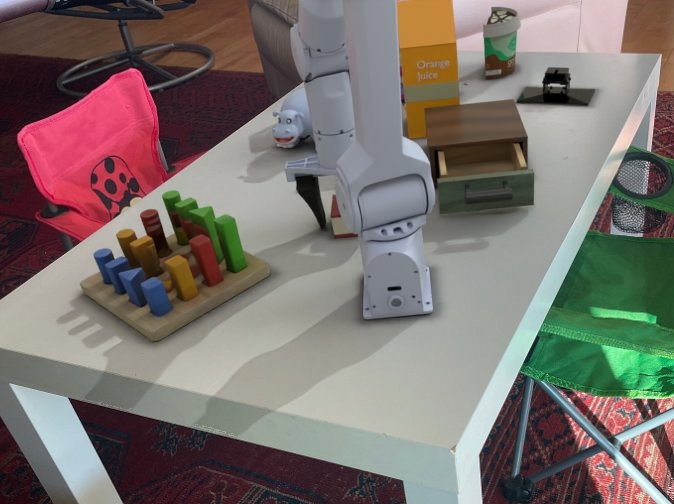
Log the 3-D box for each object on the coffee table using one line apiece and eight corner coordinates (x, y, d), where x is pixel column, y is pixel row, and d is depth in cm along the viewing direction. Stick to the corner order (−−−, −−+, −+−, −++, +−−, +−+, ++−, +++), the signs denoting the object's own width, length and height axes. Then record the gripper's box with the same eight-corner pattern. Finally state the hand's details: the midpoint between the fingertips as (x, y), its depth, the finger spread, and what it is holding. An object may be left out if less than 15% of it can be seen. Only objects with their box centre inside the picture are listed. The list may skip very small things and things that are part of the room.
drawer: (538, 219, 98) (539, 186, 95) (441, 229, 98) (439, 196, 95) (519, 162, 111) (519, 131, 108) (434, 171, 111) (432, 141, 108)
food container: (517, 81, 139) (517, 24, 132) (484, 82, 140) (482, 25, 133) (524, 59, 148) (524, 4, 141) (493, 60, 149) (491, 5, 142)
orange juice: (407, 121, 129) (394, -5, 116) (458, 115, 129) (451, -11, 116) (408, 139, 123) (395, 8, 110) (462, 134, 123) (455, 2, 110)
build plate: (516, 103, 131) (516, 76, 128) (526, 88, 136) (526, 62, 133) (588, 105, 127) (589, 78, 124) (595, 90, 132) (597, 63, 129)
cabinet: (527, 178, 108) (527, 136, 104) (432, 188, 109) (428, 146, 105) (514, 138, 119) (513, 98, 115) (427, 147, 120) (424, 108, 116)
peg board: (81, 293, 95) (54, 234, 90) (195, 235, 104) (177, 178, 99) (155, 343, 86) (129, 280, 80) (273, 274, 95) (258, 213, 89)
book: (367, 235, 100) (363, 212, 98) (334, 238, 100) (330, 215, 98) (367, 213, 105) (364, 191, 103) (336, 216, 105) (332, 194, 103)
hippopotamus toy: (258, 161, 122) (244, 103, 116) (304, 124, 132) (293, 69, 126) (315, 167, 118) (304, 108, 112) (358, 129, 128) (349, 72, 122)
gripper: (392, 108, 96) (403, 203, 105) (281, 119, 97) (301, 214, 105) (393, 129, 91) (404, 228, 100) (275, 142, 91) (297, 239, 100)
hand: (351, 223), depth 102 cm, fingers open, 7 cm apart
